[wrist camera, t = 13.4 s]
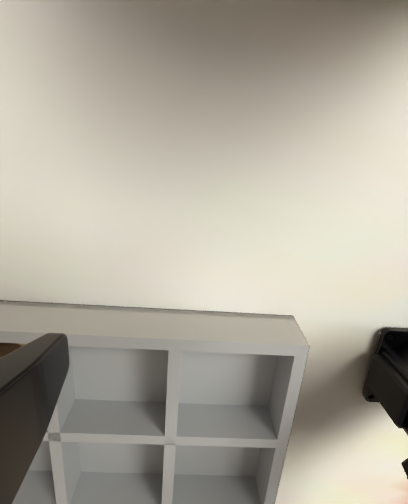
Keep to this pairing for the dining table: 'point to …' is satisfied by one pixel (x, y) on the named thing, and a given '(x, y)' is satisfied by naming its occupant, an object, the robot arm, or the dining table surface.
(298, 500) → the dining table surface
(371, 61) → the dining table surface
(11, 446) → the robot arm
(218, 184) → the dining table surface
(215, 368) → the tray
